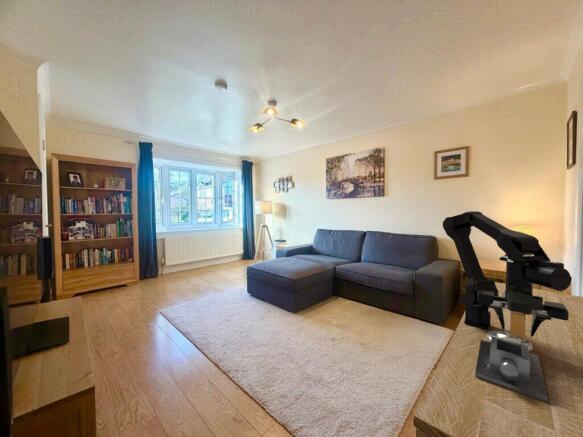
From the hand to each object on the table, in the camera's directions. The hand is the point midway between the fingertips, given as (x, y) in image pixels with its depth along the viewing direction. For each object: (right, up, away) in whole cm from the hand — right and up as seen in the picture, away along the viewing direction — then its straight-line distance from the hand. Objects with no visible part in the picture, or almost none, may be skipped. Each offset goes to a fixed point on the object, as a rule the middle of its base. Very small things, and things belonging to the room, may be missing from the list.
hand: (517, 332), depth 71 cm
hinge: (+27, -3, +32) cm, 42 cm away
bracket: (-11, -5, -9) cm, 15 cm away
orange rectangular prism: (0, -4, 0) cm, 4 cm away
